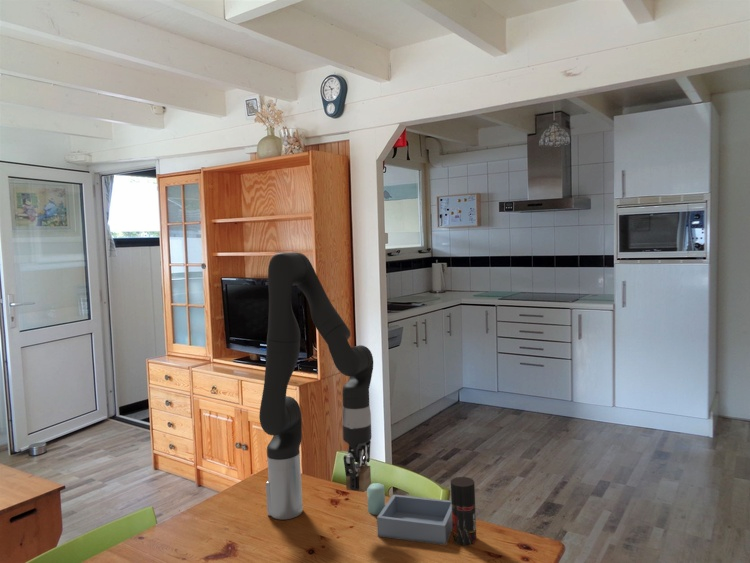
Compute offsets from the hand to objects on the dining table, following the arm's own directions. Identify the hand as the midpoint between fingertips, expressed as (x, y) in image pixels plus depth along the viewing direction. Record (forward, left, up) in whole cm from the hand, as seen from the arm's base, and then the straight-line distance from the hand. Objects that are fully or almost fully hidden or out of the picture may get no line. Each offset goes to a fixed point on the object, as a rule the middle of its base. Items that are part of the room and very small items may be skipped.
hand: (358, 485), depth 146 cm
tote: (+14, +5, -12) cm, 20 cm away
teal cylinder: (0, +12, -12) cm, 17 cm away
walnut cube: (0, 0, -1) cm, 1 cm away
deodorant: (+27, +2, -13) cm, 30 cm away
